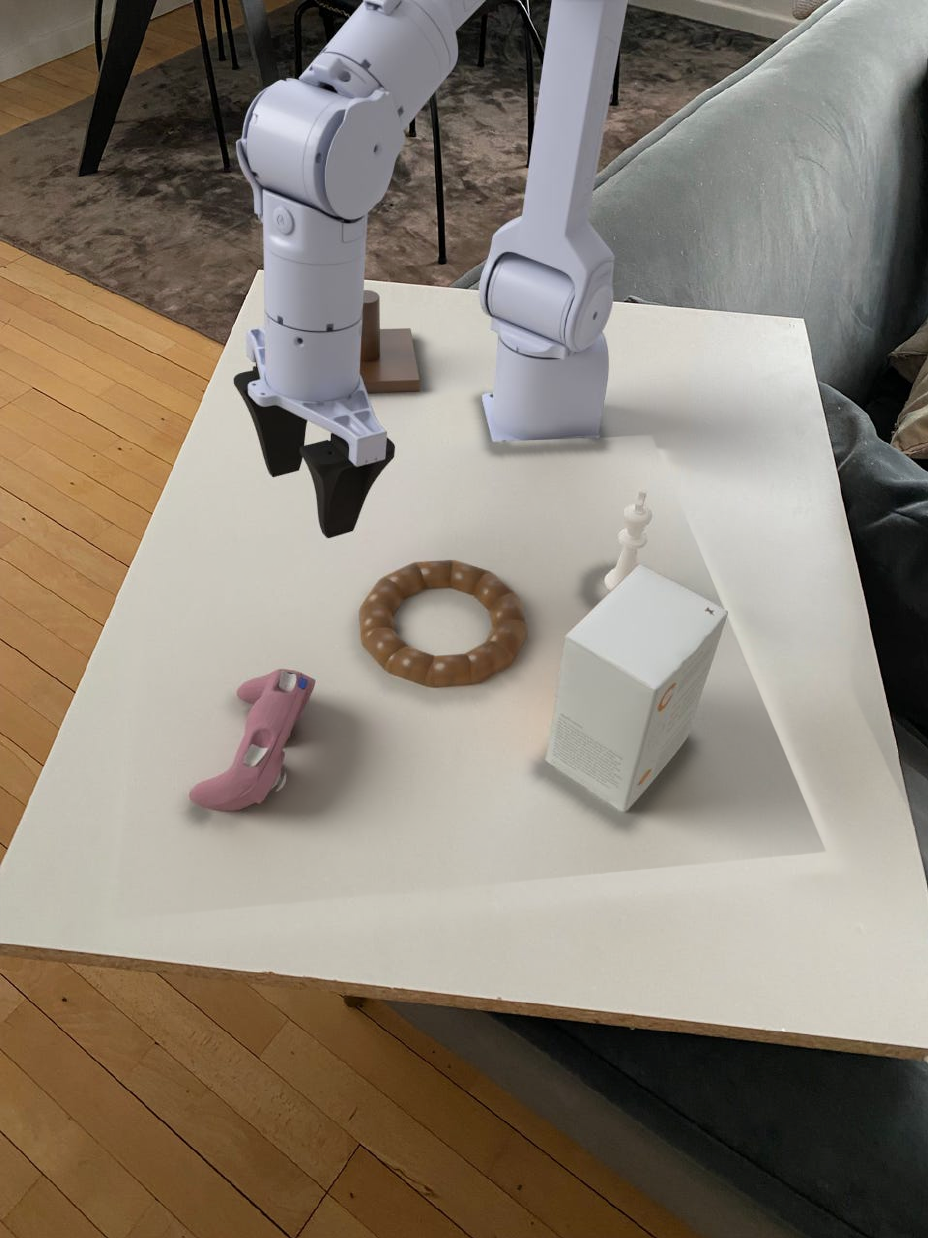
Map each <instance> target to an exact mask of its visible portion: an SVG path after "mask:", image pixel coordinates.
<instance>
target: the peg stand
mask: <svg viewBox="0 0 928 1238" xmlns="http://www.w3.org/2000/svg"><path fill="white" fill-rule="evenodd" d="M380 301H381V300H380V295H379V293H378V292H376V291H374V290H370V289H364V293H363V316H362V333H361V352H360V372H359V373H360V375H361V377H362V380H363V383H364V385H365V388H366V391H367V394H369V393H370V394H371V393H373V394H374V393H398V392H401V393H402V392H420V390H421V389H420V388H421V387H420V386H421V379H420V373H419V370H418V369H419V367H418V362H417V356H416V351H415V345H414V341H413V335H412V330H411V328H410V327H409V328H407V327H405V328H404V327H402V328H381V314H380V312H381V311H380V310H381V308H380V306H381V305H380V304H381V303H380Z"/></svg>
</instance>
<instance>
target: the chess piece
mask: <svg viewBox="0 0 928 1238" xmlns="http://www.w3.org/2000/svg"><path fill="white" fill-rule="evenodd" d="M638 491H639V492H638V496H637V500H636V502H635V503H631V504H628V505H627V506H626V507H625V508H624V509H623V518H624V521H625V527H624V528H622V529H621V530H620V531H619V533H618V534H617V541H618V543H619V544H620V545H621V546H623V547H622V549H621V552H620V555H619V557H618V559H617V563H616V565H615V566H614V568H612V569H611V570H610V571H609V572H608V573H607V574H606V575H605V576H604V585H605V587H606V588H607V590H609V592H610V591H611V590H612V589H613V588H614V587H615V586H616V585H617V584H618V583H619V582H620V581H621V580H622V579H623V578H624V577H625V576H626V575H628V574H629V573H630V572H631V571H632V570H633V569H634V568H635V567H636V566H637V556H638V550H639V549H643V548H644V547H645V546H646V545H647V544H648V536H647V534H646V532H645V531H644V530H646V529H645V528H646V527H647V526H648V525H649V523H650V522H651V521H652V518H653V511H652V510H651V509H650V508H649V507H648V506H646V505H644V503H645V500H646V497H647V494H648V491H647V489H646V488H641V487H640V488H639V490H638Z"/></svg>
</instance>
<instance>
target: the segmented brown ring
mask: <svg viewBox="0 0 928 1238" xmlns="http://www.w3.org/2000/svg"><path fill="white" fill-rule="evenodd" d="M437 589H452V590H455V591H458V592H461V593H464V594H467V595H470V596H473V598H475V599H476V600H477V601H478V602H479V603H480V604H481V605H482V606H483V607H484V608H486V609H487V610H488V612H489V617H490V621H491V622H490V623H491V628H492V629H491V630H490V632H489V634H488V636H487V638H486V639H485V642H482V643H481V644H479V645H478V646H476V647H474V648H472V649H470V650H468V651H466V652H464V653H457V654H440V655H439V654H438V655H434V654H431V653H429V652H426V651H422V650H419V649H416V648H413V647H410V646H409V645H408V644H407V643H406V642H405V641H404V640H403V639H402V638H401V637H400V636H399V635H398V634H397V633H396V631H395V630H396V629H395V623H394V615H395V614H396V612H397V611H398V609H399V608H400V606H401V605H402V603H403V601H404V600H407V599H408V598H410V597H412V596H414V595H416V594H419V593H420V592H422V591H424V590H437ZM522 606H523V605H522V602H521V599H520V597H519V596H518V594H516V592H514V591H513V590H512V589H511V588H510V587H509V586H508V585H507V584H506V583H505V582H503V581H502V580H501V579H500V578H499V577H498V576H497V575H496V574H495V573H494V572H492V571H490V570H487V569H485V568H481V567H478V566H475V565H473V564H469V563H466V562H462V561H459V560H455V559H444V560H443V559H442V560H426V561H425V560H424V561H414V562H411V563H409V564H407V565H405V566H403V567H401V568H399V569H397V570H395V571H392V572H390V573H389V574H386V575H383V576H382V577H381V578H380V579H378V580H377V582H375V584H374V586H373V587H372V589H371V590H370V592H369V593H368V595H367V596H366V598H365V599H364V600H363V602H362V603H361V605H360V607H359V609H358V619H359V631H360V641H361V645H362V647H363V648H364V649H365V650H366V651H367V652H368V653H369V655H370V656H371V657H372V658H373V659H374V661H376V662H377V664H378V665H380V667H382V669H383V670H384V671H385V672H386V673H388V674H390V675H392V676H396V677H399V678H401V679H404V680H407V681H410V682H412V683H415V684H417V685H421V686H424V687H427V688H445V687H458V686H472V685H477V684H479V683H482V682H483V681H484V680H486V679H488V678H490V677H492V676H494V675H495V674H497V673H499V672H502V670H505V669H506V668H508V667H509V666H511V665H512V664H513V663H514V661H515V659H516V657H517V655H518V654H519V651H520V649H521V648H522V645H523V643H524V641H525V640H526V637H527V635H528V628H527V623H526V619H525V615H524V610H523V607H522Z"/></svg>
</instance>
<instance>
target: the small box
mask: <svg viewBox="0 0 928 1238" xmlns="http://www.w3.org/2000/svg"><path fill="white" fill-rule="evenodd" d="M728 615H729V611H728V610H726V609H725V608H723V607H721V606H720V605H718V604H716V603H714V602H712V601H711V600H709V599H707V598H705V597H703V596H702V595H700V594H698V593H696V592H694V591H693V590H690V589H689V588H686V587H685V586H683V585H682V584H679V583H677V582H676V581H673V580H672V579H669V578H667V577H666V576H664V575H662V574H660V573H658V572H657V571H654V570H652V569H650V568H648V567H646V566H645V565H643V564H641V563H638V564H636V567H635V568H634V569H633V570H632V571H631V572H630V573H629V574H628V575H626V576H625V577H624V578H623V579H622V580H621V581H620V582H619V583H618V584H617V585H616V586H615V587H614V588H613V589H612V590H611V591H610V590H609V592H608V593H607V594H606V595H605V596H603V598H602V599H601V600H599V602H598V603H597V604H596V605H594V606H593V608H591V609H590V610H589V612H587V613H586V614H585V615H584V616H583V617H582V618H581V619H580V620H578V622H577V623H575V625H574V626H572V628H571V629H570V630H569V631H568V632H567V633H565V635H564V642H563V648H562V653H561V661H560V665H559V666H560V667H559V672H558V679H557V685H556V691H555V698H554V703H553V710H552V715H551V721H550V729H549V734H548V740H547V745H546V753H545V758H544V760H545V762H546V763H548V764H549V765H551V766H553V767H554V768H555V769H557V770H558V771H560V772H561V773H563V774H564V775H566V776H567V777H569V778H570V779H572V780H574V781H575V782H577V783H578V784H580V785H581V786H583V787H584V788H585V789H587V790H588V791H590V792H592V793H593V794H595V795H596V796H598V797H599V798H600V799H602V800H603V801H605V802H606V803H608V804H609V805H611V806H613V807H614V808H616V809H617V810H619V811H620V812H622V813H626V812H627V811H629V810H630V808H631V807H632V806H633V805H634V804H635V803H636V801H638V799H639V798H640V797H641V796H642V795H643V793H645V791H646V790H647V789H648V788H649V787H650V785H651V784H652V783H653V782H654V780H655V779H656V778H657V777H658V775H659V774H660V773H661V772H662V770H663V769H664V768H666V766H667V765H668V763H669V762H670V761H671V760H672V758H673V757H674V756H675V755H676V754H677V752H678V751H679V750H680V748H681V747H682V745H684V743H685V742H686V740H687V739H688V737H689V735H690V731H691V728H692V725H693V722H694V718H695V715H696V712H697V708H698V706H699V704H700V703H699V702H700V700H701V696H702V694H703V692H704V691H703V690H704V688H705V685H706V682H707V679H708V676H709V673H710V670H711V667H712V665H713V661H714V659H715V654H716V651H717V648H718V645H719V643H720V639H721V637H722V633H723V631H724V627H725V623H726V621H727V619H728Z"/></svg>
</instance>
